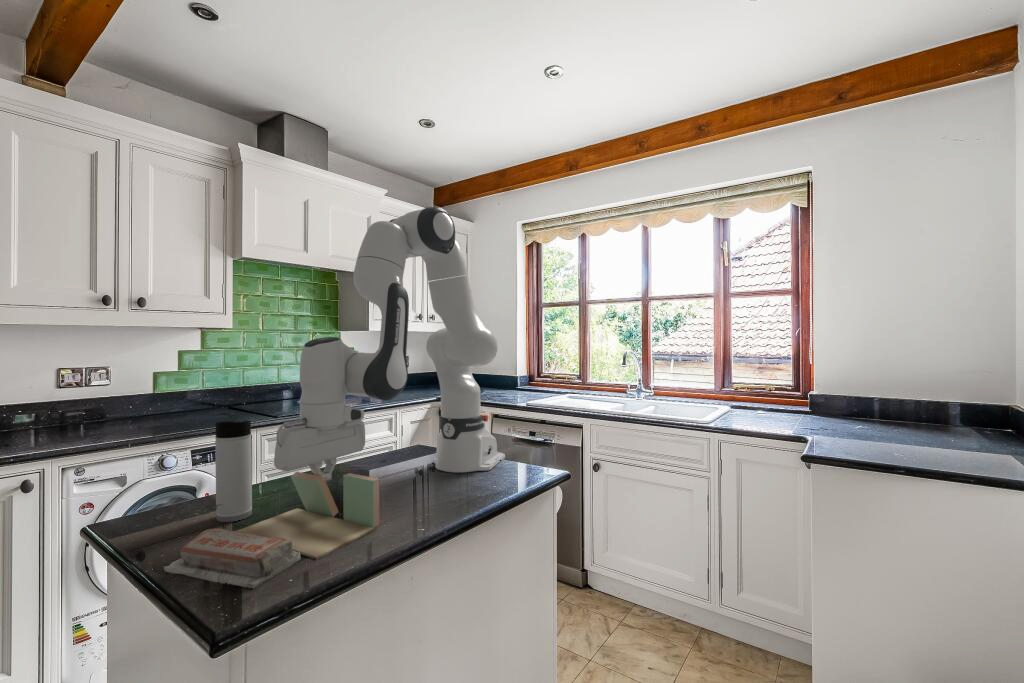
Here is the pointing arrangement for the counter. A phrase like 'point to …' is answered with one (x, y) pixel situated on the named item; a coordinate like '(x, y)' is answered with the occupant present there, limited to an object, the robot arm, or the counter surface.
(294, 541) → the cork mat
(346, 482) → the pink and green block
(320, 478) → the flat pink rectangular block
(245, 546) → the packaged product
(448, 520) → the counter surface
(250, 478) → the travel mug
